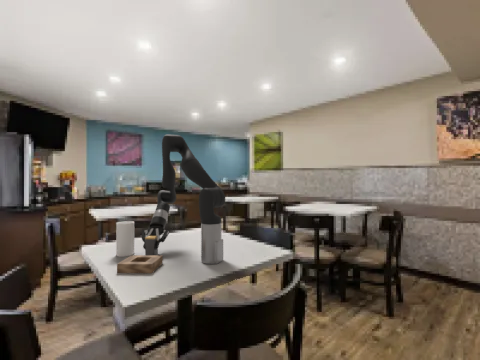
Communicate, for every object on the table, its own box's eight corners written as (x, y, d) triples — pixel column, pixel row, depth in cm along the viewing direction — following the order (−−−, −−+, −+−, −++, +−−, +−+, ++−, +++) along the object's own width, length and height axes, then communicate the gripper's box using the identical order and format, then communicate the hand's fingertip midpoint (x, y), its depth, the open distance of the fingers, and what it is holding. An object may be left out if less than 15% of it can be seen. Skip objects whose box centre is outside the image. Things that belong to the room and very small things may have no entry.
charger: (157, 254, 123) (157, 235, 123) (154, 257, 118) (154, 237, 118) (149, 254, 123) (149, 235, 123) (145, 257, 118) (145, 237, 119)
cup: (129, 251, 130) (129, 220, 130) (137, 253, 125) (137, 222, 125) (113, 254, 124) (113, 222, 124) (121, 257, 119) (121, 224, 119)
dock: (162, 263, 109) (162, 255, 109) (151, 273, 97) (151, 264, 97) (131, 263, 110) (131, 255, 110) (117, 272, 98) (117, 263, 98)
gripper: (144, 215, 129) (132, 244, 116) (171, 215, 128) (162, 244, 116) (148, 224, 134) (138, 252, 122) (174, 224, 133) (166, 252, 121)
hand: (150, 248), depth 119 cm, fingers closed on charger, 4 cm apart
